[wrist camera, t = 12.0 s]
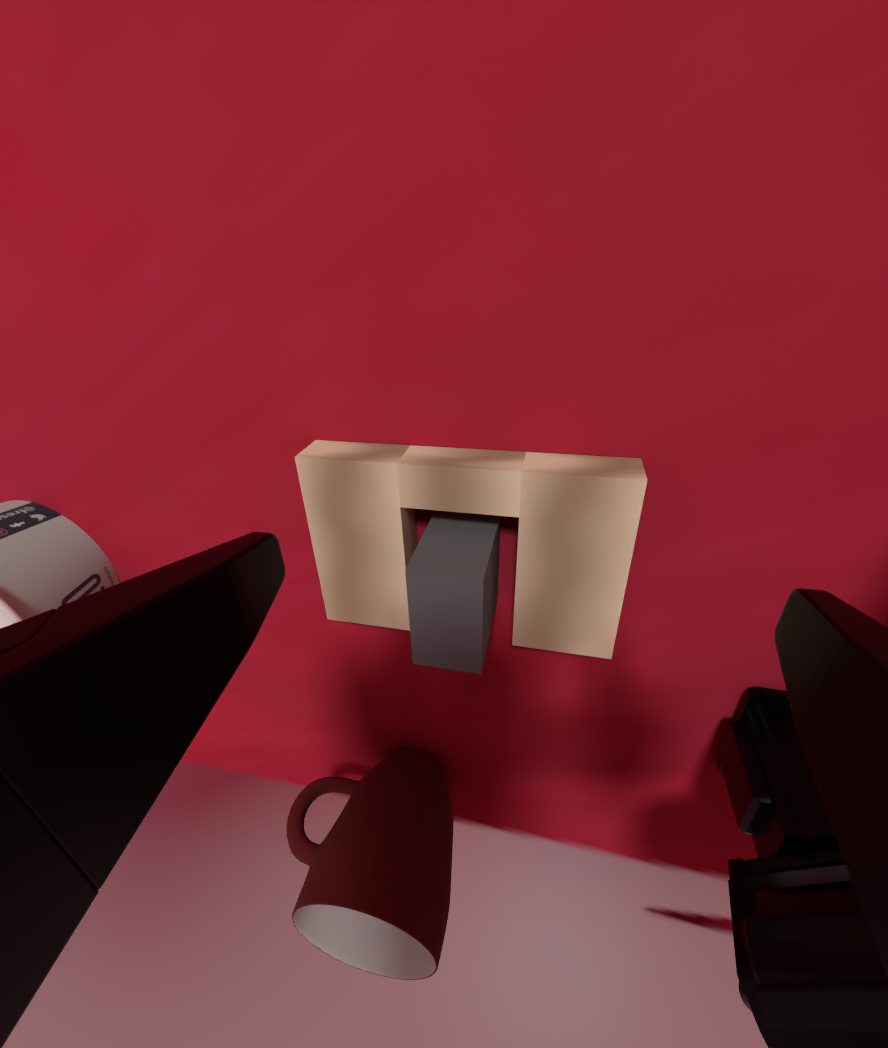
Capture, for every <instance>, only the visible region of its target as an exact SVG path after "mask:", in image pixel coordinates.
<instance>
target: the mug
mask: <svg viewBox="0 0 888 1048" xmlns="http://www.w3.org/2000/svg"><path fill="white" fill-rule="evenodd" d="M331 792H338V793H344V794H349V795H351V797H350V799H349V801H348V802H347V804H346V806H345V808H344V809H343V811H342V813H341V814H340V816H339V818H338V819H337V821H336V822H335V824H334V826H333V827H332V829H331V830H330V832H329V834H328V835H327V837H326V838H325V839H324V841H323V842H322V843H321V844H316V843H314V842H312V841H311V840H309V839H308V837H307V836H306V834H305V831H304V818H305V814H306V812H307V810H308V808H309V806H310V805H311V803H312V802H313V801H314V800H315V799H316V798H317V797H319V796H321V795H323V794H326V793H331ZM287 838H288V843H289V847H290V849H291V852H292V853H293V855H294V856H295V857H296V858H297V859H298V860H299V861H301V862H302V863H305V864H307V865H309V867H310V868H309V871H308V874H307V877H306V879H305V882H304V885H303V887H302V890H301V892H300V895H299V898H298V900H297V903H296V905H295V908H294V911H293V915H292V919H293V922H294V924H295V926H296V928H297V930H298V931H299V932H300V933H301V934H302V936H304V937H305V938H306V939H307V940H308V941H309V942H310V943H312V944H313V945H314V946H316V947H317V948H318V949H320V950H322V951H323V952H325V953H326V954H328V955H330V956H332V957H334V958H335V959H337V960H339V961H341V962H344V963H346V964H348V965H350V966H353V967H355V968H358V969H361V970H364V971H366V972H370V973H373V974H376V975H380V976H384V977H389V978H395V979H403V980H418V979H424V978H427V977H430V976H431V975H433V974H434V973H435V972H436V970H437V968H438V964H439V960H440V955H441V950H442V945H443V941H444V935H445V930H446V925H447V919H448V912H449V904H450V890H451V888H450V887H451V867H452V866H451V865H452V843H453V809H452V803H451V798H450V794H449V790H448V786H447V782H446V778H445V775H444V771H443V769H442V767H441V765H440V764H439V763H438V762H437V761H436V760H435V759H434V758H432V757H431V756H429V755H428V754H426V753H423V752H421V751H418V750H413V749H400V750H396V751H394V752H392V753H391V754H390V755H388V756H387V757H386V758H385V759H384V760H383V761H381V762H380V763H379V764H378V765H377V766H376V767H374V768H373V769H372V770H371V771H370V772H369V773H368V774H367V775H366V776H365V777H363V778H362V779H361V780H360V781H356V780H352V779H348V778H343V777H325V778H321V779H318V780H316V781H314V782H312V783H311V784H309V785H308V786H306V787H305V788H304V789H303V790H302V791H301V793H300V794H299V795H298V796H297V798H296V800H295V801H294V803H293V805H292V808H291V810H290V813H289V816H288V822H287Z"/></svg>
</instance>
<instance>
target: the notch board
mask: <svg viewBox="0 0 888 1048" xmlns="http://www.w3.org/2000/svg"><path fill="white" fill-rule="evenodd" d="M295 462H296V466H297V471H298V476H299V481H300V486H301V491H302V496H303V501H304V506H305V511H306V515H307V520H308V525H309V530H310V535H311V540H312V545H313V550H314V555H315V560H316V565H317V569H318V574H319V579H320V584H321V589H322V594H323V599H324V604H325V609H326V614H327V618H328V619H330V620H337V621H344V622H352V623H359V624H366V625H373V626H380V627H387V628H394V629H401V630H408V631H410V624H409V612H408V599H407V587H406V574H405V569H406V567H407V565H408V563H409V561H410V559H411V557H412V555H413V553H414V551H415V549H416V547H417V545H418V544H417V530H416V516H415V509H426V510H437V511H449V512H461V513H473V514H484V515H496V516H508V517H519V529H518V547H517V566H516V584H515V602H514V620H513V639H512V645H514V646H522V647H529V648H536V649H543V650H550V651H557V652H564V653H571V654H578V655H585V656H592V657H600V658H607V659H611V658H612V653H613V648H614V643H615V638H616V633H617V628H618V623H619V618H620V613H621V608H622V604H623V599H624V594H625V589H626V584H627V579H628V574H629V569H630V564H631V559H632V554H633V549H634V544H635V539H636V534H637V529H638V524H639V519H640V514H641V509H642V505H643V500H644V495H645V490H646V485H647V477H646V473H645V470H644V467H643V463H642V460H641V458H624V457H606V456H589V455H571V454H553V453H536V452H518V451H500V450H483V449H465V448H447V447H430V446H412V445H395V444H377V443H359V442H342V441H324V440H315V441H314V442H313V443H312V444H310V445H309V446H308V447H306V448H305V449H304V450H303V451H301V452H300V453H299V454H298V455H296V456H295Z"/></svg>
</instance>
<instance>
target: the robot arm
mask: <svg viewBox="0 0 888 1048" xmlns="http://www.w3.org/2000/svg"><path fill="white" fill-rule="evenodd" d="M284 576H285V566H284V562H283V558H282V554H281V549H280V545H279V541H278V539H277V537H276V536H275V535H274V534H272V533H263V532H252V533H249V534H247V535H244V536H242V537H239V538H236V539H234V540H231V541H229V542H226V543H223V544H221V545H218V546H215V547H213V548H210V549H208V550H205V551H202V552H200V553H197V554H195V555H192V556H189V557H187V558H184V559H182V560H179V561H176V562H174V563H171V564H169V565H166V566H163V567H161V568H158V569H155V570H153V571H150V572H148V573H145V574H142V575H140V576H137V577H135V578H132V579H129V580H127V581H124V582H122V583H119V584H116V585H114V586H111V587H109V588H106V589H103V590H101V591H98V592H95V593H93V594H90V595H88V596H85V597H82V598H80V599H77V600H75V601H72V602H69V603H67V604H64V605H62V606H59V607H58V608H57V609H51V610H48V611H46V612H43V613H40V614H38V615H35V616H33V617H30V618H27V619H25V620H22V621H19V622H17V623H14V624H11V625H9V626H6V627H3V628H0V1048H2V1047H3V1044H4V1043H5V1042H6V1040H7V1039H8V1037H9V1035H10V1034H11V1032H12V1031H13V1029H14V1027H15V1026H16V1024H17V1023H18V1021H19V1019H20V1018H21V1016H22V1014H23V1013H24V1011H25V1010H26V1008H27V1006H28V1005H29V1003H30V1002H31V1000H32V998H33V997H34V995H35V993H36V992H37V990H38V989H39V987H40V986H41V984H42V982H43V981H44V979H45V977H46V976H47V974H48V973H49V971H50V969H51V968H52V966H53V965H54V963H55V961H56V960H57V958H58V957H59V955H60V953H61V952H62V950H63V949H64V947H65V945H66V944H67V942H68V940H69V939H70V937H71V936H72V934H73V932H74V931H75V929H76V928H77V926H78V924H79V923H80V921H81V920H82V918H83V916H84V915H85V913H86V911H87V910H88V908H89V907H90V905H91V903H92V902H93V900H94V899H95V897H96V895H97V894H98V889H100V888H101V886H102V885H103V884H104V882H105V880H106V879H107V877H108V875H109V874H110V872H111V871H112V869H113V867H114V866H115V864H116V863H117V861H118V859H119V858H120V856H121V855H122V853H123V851H124V850H125V848H126V847H127V845H128V843H129V842H130V840H131V839H132V837H133V835H134V834H135V832H136V830H137V829H138V827H139V826H140V824H141V822H142V821H143V819H144V818H145V816H146V814H147V813H148V811H149V810H150V808H151V806H152V805H153V803H154V801H155V800H156V798H157V797H158V795H159V793H160V792H161V790H162V789H163V787H164V785H165V784H166V782H167V781H168V779H169V777H170V776H171V774H172V773H173V771H174V769H175V768H176V766H177V765H178V763H179V761H180V760H181V758H182V757H183V755H184V753H185V752H186V750H187V748H188V747H189V745H190V744H191V742H192V740H193V739H194V737H195V736H196V734H197V732H198V731H199V729H200V728H201V726H202V724H203V723H204V721H205V720H206V718H207V716H208V715H209V713H210V711H211V710H212V708H213V707H214V705H215V703H216V702H217V700H218V699H219V697H220V695H221V694H222V692H223V691H224V689H225V687H226V686H227V684H228V683H229V681H230V679H231V678H232V676H233V674H234V673H235V671H236V670H237V668H238V666H239V665H240V663H241V662H242V660H243V658H244V657H245V655H246V654H247V652H248V650H249V648H250V647H251V645H252V643H253V641H254V639H255V637H256V636H257V634H258V632H259V630H260V628H261V626H262V623H263V621H264V619H265V617H266V615H267V613H268V611H269V609H270V607H271V605H272V603H273V601H274V599H275V597H276V595H277V593H278V590H279V588H280V586H281V584H282V582H283V580H284ZM775 643H776V648H777V652H778V656H779V660H780V665H781V669H782V673H783V677H784V681H785V686H786V690H787V691H781V690H774V689H767V688H759V687H756V688H751V689H750V690H748V691H747V692H746V694H745V697H744V699H743V701H742V704H741V706H740V708H739V711H738V713H737V716H736V718H735V720H733V721H732V722H731V723H730V724H729V726H728V729H727V731H726V733H725V736H724V738H723V741H722V743H721V745H720V748H719V750H718V756H719V758H718V761H717V766H718V770H719V772H720V773H721V774H722V775H724V778H725V781H726V785H727V789H728V792H729V796H730V799H731V803H732V807H733V810H734V814H735V818H736V821H737V825H738V827H739V828H740V829H741V831H742V832H743V833H746V834H751V835H752V838H753V841H754V845H755V848H756V851H757V855H758V858H756V859H749V860H743V859H741V858H737V859H730V860H728V867H729V878H730V880H728V884H729V894H730V905H731V916H732V926H733V937H734V947H735V958H736V968H737V975H738V979H739V992H740V995H741V998H742V1000H743V1002H744V1004H745V1005H746V1006H747V1008H749V1009H750V1011H752V1013H753V1015H754V1017H755V1020H756V1022H757V1025H758V1027H759V1029H760V1032H761V1034H762V1036H763V1038H764V1040H765V1042H766V1044H767V1046H768V1048H888V628H887V627H885V626H884V625H882V624H880V623H879V622H877V621H876V620H874V619H872V618H871V617H869V616H867V615H866V614H864V613H862V612H861V611H859V610H857V609H856V608H854V607H852V606H851V605H849V604H847V603H846V602H844V601H842V600H841V599H839V598H837V597H836V596H834V595H832V594H831V593H829V592H826V591H823V590H813V589H803V588H798V589H796V590H793V592H792V593H791V594H790V596H789V598H788V600H787V602H786V605H785V607H784V609H783V612H782V614H781V616H780V619H779V621H778V623H777V626H776V629H775Z"/></svg>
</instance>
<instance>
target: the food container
mask: <svg viewBox="0 0 888 1048" xmlns="http://www.w3.org/2000/svg"><path fill="white" fill-rule="evenodd" d="M116 584H119V579H118V577H117V574H116V572H115V570H114V568H113V566H112V564H111V562H110V561H109V559H108V558H107V556H106V555H105V554H104V552H103V551H102V550H101V548H100V547H99V546H98V545H97V544H96V543H95V542H94V541H93V539H92V538H91V537H90V536H88V535H87V534H86V533H85V532H84V531H83V530H82V529H81V528H79V527H78V526H77V525H76V524H74V523H73V522H72V521H70V520H69V519H67V518H66V517H64V516H62V515H61V514H59V513H57V512H55V511H54V510H51V509H49V508H47V507H45V506H42V505H39V504H36V503H33V502H29V501H22V500H13V501H7V502H3V503H0V628H3V627H6V626H9V625H11V624H14V623H17V622H19V621H22V620H25V619H27V618H30V617H33V616H35V615H38V614H40V613H43V612H46V611H48V610H51V609H57V608H58V607H59V606H62V605H64V604H67V603H69V602H72V601H75V600H77V599H80V598H82V597H85V596H88V595H90V594H93V593H95V592H98V591H101V590H103V589H106V588H109V587H111V586H114V585H116Z"/></svg>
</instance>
